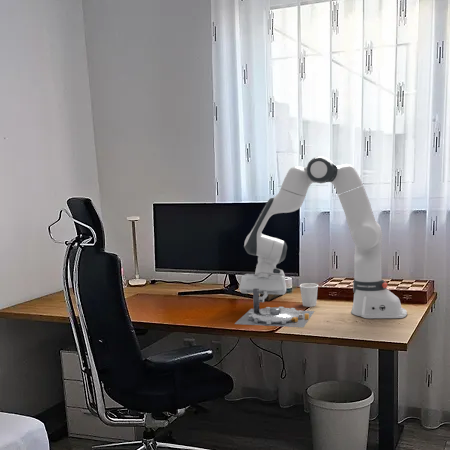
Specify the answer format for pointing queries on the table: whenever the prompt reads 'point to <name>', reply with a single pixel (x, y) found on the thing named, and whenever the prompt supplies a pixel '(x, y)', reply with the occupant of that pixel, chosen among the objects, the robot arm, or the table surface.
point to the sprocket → (272, 313)
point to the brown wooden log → (270, 297)
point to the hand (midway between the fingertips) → (260, 301)
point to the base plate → (299, 323)
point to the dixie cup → (309, 294)
